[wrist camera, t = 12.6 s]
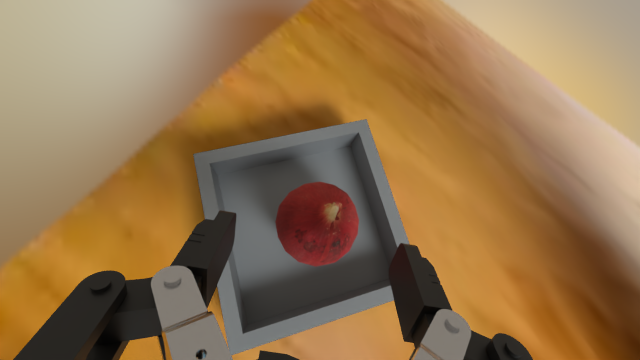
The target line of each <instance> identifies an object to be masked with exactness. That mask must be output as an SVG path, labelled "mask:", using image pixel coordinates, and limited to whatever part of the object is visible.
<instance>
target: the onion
mask: <svg viewBox="0 0 640 360" xmlns="http://www.w3.org/2000/svg"><path fill="white" fill-rule="evenodd" d="M275 223H276V229H277V234H278V238H279V240H280V242H281V244H282V246H283V248H284V249H285V251H286V252H287V253H288V254H289V255H291V256H292V257H293V258H294V259H296V260H297V261H298V262H301V263H304V264H308V265H311V266H315V267H317V266H322V265H326V264H331V263H334V262H337V261H338V260H339V259H340V258H341V257H343V256H344V255H345V254H346V253H348V252H349V251H350V249H351V247H352V245H353V242H354V240H355V238H356V236H357V235H358V225H359V218H358V214H357V211H356V207H355V205H354V203H353V201H352V200H351V198H350V197H349V195H348V194H347V193H346V192H345V191H343V190H341V189H340V188H338V187H337V186H335V185H333V184H328V183H324V182H314V183H307V184H303V185H301V186H300V187H298V188H296V189H294V190H293V191H291V192H289V193H288V195H287V196H286V197H285V199H284V200H283V201H282V202H281V204H280V205H279V208H278V212H277V217H276V221H275Z"/></svg>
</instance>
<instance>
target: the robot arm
mask: <svg viewBox="0 0 640 360" xmlns="http://www.w3.org/2000/svg"><path fill="white" fill-rule="evenodd" d="M235 228H236V213H233V212H228V211H222V210H220V211H219V212H218V214H217V216H216V217H215V219H214V220H210V219H205V220H204V221H202V222H201V223H199V224H198V225H197V226H196V227H195V229H194V230H193V232H192V234H191V235H190V236H189V238H188V240H187V241H186V242H185V244H184V246H183V247H182V249H181V250H180V252H179V253H178V255H177V256H176V258H175V259H174V261H173V262H172V264H171V265H170V266H169V267H166V268H164V269H162V270H160V271H159V272H157V273H156V274H155V275H154V277H151V278H146V279H136V280H126V281H125V277H124V276H123V275H122V274H121V273H119V272H117V271H102V272H98V273H95V274H92V275H90V276H88V277H87V278H85V279H84V280H83V281H81V282H80V283H79V284H78V286H77V287H76V288H75V289H74V290H73V291H72V293H71V294H70V295H69V296H68V297H67V298H66V299H65V301H64V302H63V303H62V304H61V305H60V306H59V308H58V309H57V310H56V311H55V312H54V313H53V314H52V316H51V317H50V318H49V319H48V320H47V321H46V323H45V324H44V325H43V326H42V327H41V328H40V329H39V331H38V332H37V333H36V334H35V335H34V336H33V337H32V339H31V340H30V341H29V342H28V343H27V344H26V346H25V347H24V348H23V349H22V350H21V351H20V352H19V354H18V355H17V356H16V357H15V358H14V359H13V360H119V358H120V356H121V355H122V353H123V351H124V349H125V348H126V346H127V344H128V342H129V340H135V339H141V338H147V337H153V336H157V339H158V343H159V347H160V351H161V355H162V360H233V359H232V356H231V354H230V352H229V349H228V347H227V344H226V342H225V340H224V337H223V335H222V332H221V330H220V328H219V325H218V323H217V320H216V318H215V316H214V314H213V313H212V312H208V310H207V308H208V305H209V303H210V301H211V298H212V296H213V293H214V291H215V289H216V286H217V284H218V282H219V279H220V277H221V275H222V272H223V270H224V268H225V265H226V263H227V261H228V258H229V256H230V253H231V251H232V248H233V245H234V239H235ZM389 280H390V285H391V289H392V293H393V297H394V301H395V306H396V310H397V314H398V318H399V322H400V326H401V331H402V335H403V339H404V341H405V342H411V343H414V346H415V349H414V351H413V353H412V354H411V356H410V358H409V360H533V359H532V357H531V355H530V354H529V352H528V351H527V349H526V348H525V347H524V346H523V345H522V344H521V343H520V342H519V341H517V340H516V339H514V338H513V337H511V336H509V335H506V334H502V333H498V334H496V335H495V336H494V337H493V338H492V339H489V338H487V337H485V336H482V335H480V334H478V333H476V332H474V331H472V330H471V329H470V327H469V325H468V323H467V322H466V321H465V320H464V319H463V318H462V317H461V316H460V315H459V314H457V313H456V312H454V311H452V308H451V306H450V304H449V302H448V299H447V297H446V295H445V292H444V290H443V288H442V285H440V281H439V278H438V277H437V274H436V272H435V269H434V267H433V266H432V264H431V263H430V262H429V261H428V260H427V259H426V258H423V257H421V254H420V252H419V249H418V247H417V246H415V245H409V244H404V243H400V244H399V246H398V248H397V251H396V253H395V255H394V257H393V260H392V262H391V264H390V267H389ZM258 360H299V359H297V358H294V357H292V356H290V355H287V354H281V353H274V352H267V351H260V354H259V359H258Z"/></svg>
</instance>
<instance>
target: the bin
mask: <svg viewBox="0 0 640 360" xmlns="http://www.w3.org/2000/svg"><path fill="white" fill-rule="evenodd" d="M193 156H194V161H195V167H196V172H197V177H198V183H199V188H200V194H201V199H202V205H203V210H204V216H205V219H210V220H214V219H215V217H216V216H217V214H218V212H219V211H220V210H222V211H228V212H233V213H236V228H235V239H234V245H233V248H232V251H231V253H230V256H229V258H228V261H227V263H226V265H225V268H224V270H223V272H222V275H221V277H220V279H219V282H218V284H217V287H218V292H219V298H220V303H221V309H222V314H223V320H224V325H225V331H226V336H227V342H228V347H229V352H230V354H231V355H234V354H237V353H240V352H243V351H246V350H249V349H252V348H254V347H257V346H260V345H263V344H266V343H269V342H272V341H275V340H278V339H281V338H284V337H287V336H290V335H293V334H296V333H299V332H302V331H305V330H308V329H311V328H313V327H316V326H319V325H322V324H325V323H328V322H331V321H334V320H337V319H340V318H343V317H346V316H349V315H352V314H355V313H358V312H361V311H364V310H367V309H370V308H373V307H375V306H378V305H381V304H384V303H387V302H390V301H393V300H394V297H393V293H392V289H391V285H390V280H389V267H390V264H391V262H392V260H393V257H394V255H395V253H396V251H397V248H398V246H399V244H400V243H404V244H409V241H408V238H407V236H406V233H405V230H404V227H403V224H402V221H401V218H400V215H399V212H398V209H397V206H396V204H395V201H394V198H393V195H392V192H391V189H390V186H389V183H388V180H387V177H386V175H385V172H384V169H383V166H382V163H381V160H380V157H379V154H378V151H377V148H376V146H375V143H374V140H373V137H372V134H371V131H370V128H369V125H368V122H367V119H365V120H360V121H355V122H350V123H345V124H340V125H335V126H330V127H325V128H320V129H315V130H310V131H305V132H300V133H295V134H290V135H285V136H280V137H275V138H270V139H265V140H260V141H255V142H251V143H246V144H241V145H236V146H231V147H226V148H221V149H216V150H211V151H206V152H201V153H196V154H193ZM314 182H324V183H328V184H333V185H335V186H337V187H338V188H340V189H341V190H343V191H345V192H346V193H347V194H348V195H349V197H350V198H351V200H352V201H353V203H354V205H355V207H356V211H357V214H358V218H359V225H358V235H357V236H356V238H355V240H354V242H353V245H352V247H351V249H350V251H349V252H348V253H346V254H345V255H344V256H343V257H341V258H340V259H339V260H338V261H337V262H334V263H331V264H326V265H322V266H317V267H315V266H311V265H308V264H304V263H301V262H298V261H297V260H296V259H294V258H293V257H292V256H291V255H289V254H288V253H287V252H286V251H285V249H284V248H283V246H282V244H281V242H280V240H279V238H278V234H277V229H276V223H275V221H276V217H277V212H278V208H279V205H280V204H281V202H282V201H283V200H284V199H285V197H286V196H287V195H288V193H289V192H291V191H293V190H294V189H296V188H298V187H300V186H301V185H303V184H307V183H314ZM409 245H410V244H409Z"/></svg>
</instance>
